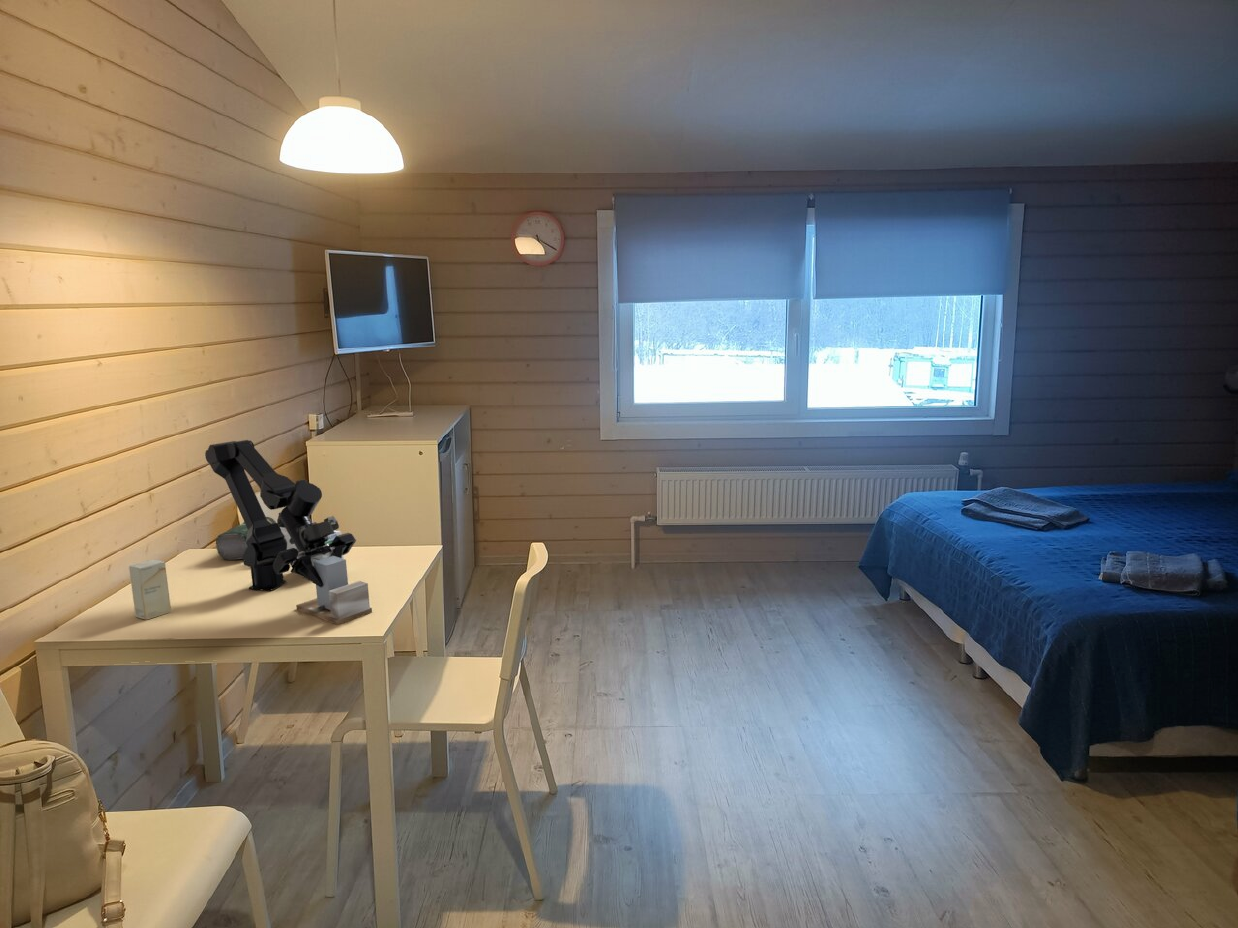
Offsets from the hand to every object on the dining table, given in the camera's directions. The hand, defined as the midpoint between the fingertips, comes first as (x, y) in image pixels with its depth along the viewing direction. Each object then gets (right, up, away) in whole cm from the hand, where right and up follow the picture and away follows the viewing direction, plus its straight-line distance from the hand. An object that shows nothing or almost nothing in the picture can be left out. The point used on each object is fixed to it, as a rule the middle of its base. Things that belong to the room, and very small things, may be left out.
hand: (332, 582), depth 195 cm
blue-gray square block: (0, -5, 0) cm, 5 cm away
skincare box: (-41, -8, +2) cm, 42 cm away
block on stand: (0, -7, +2) cm, 7 cm away
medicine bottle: (-25, +2, +43) cm, 50 cm away
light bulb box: (-13, -1, +30) cm, 32 cm away
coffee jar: (-40, +4, +38) cm, 55 cm away
